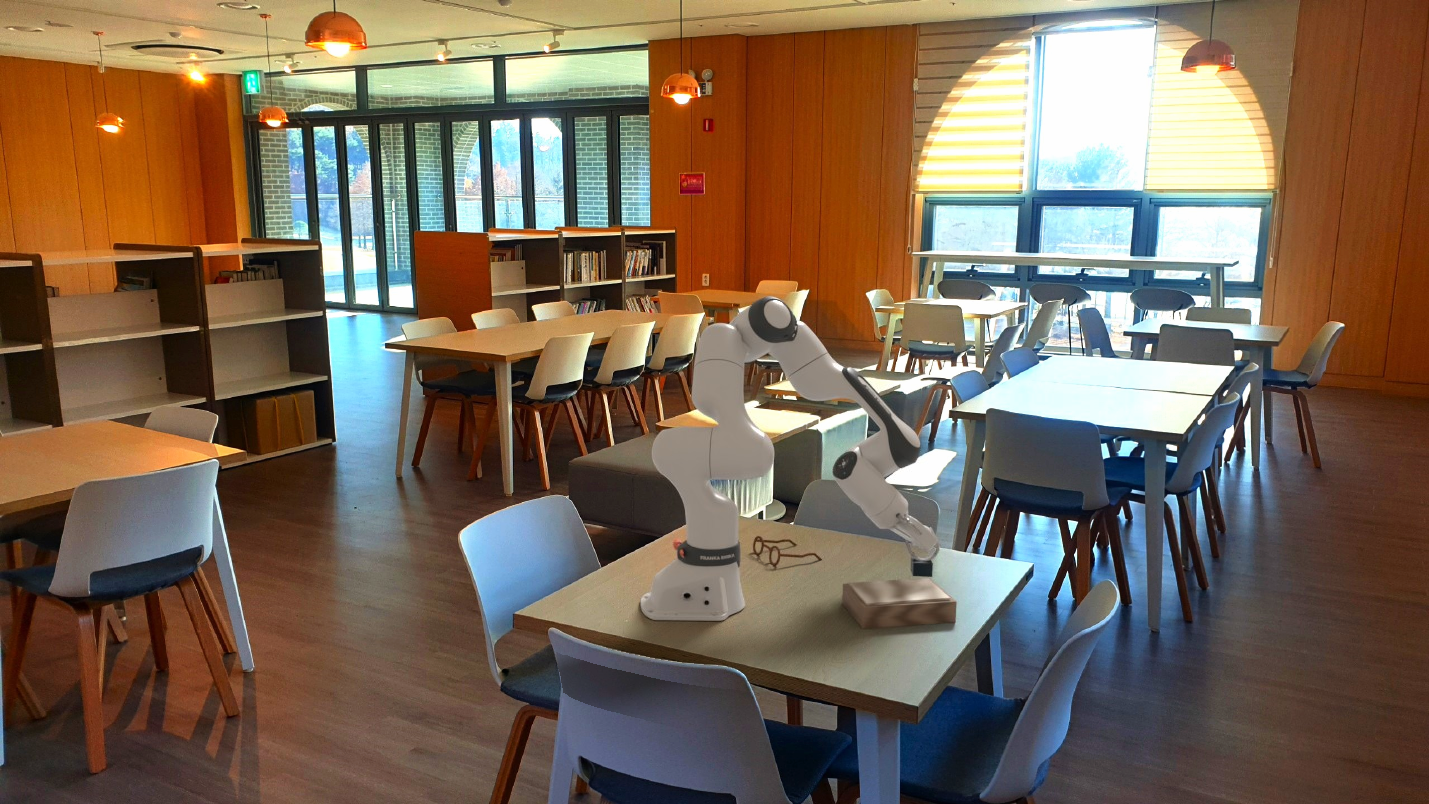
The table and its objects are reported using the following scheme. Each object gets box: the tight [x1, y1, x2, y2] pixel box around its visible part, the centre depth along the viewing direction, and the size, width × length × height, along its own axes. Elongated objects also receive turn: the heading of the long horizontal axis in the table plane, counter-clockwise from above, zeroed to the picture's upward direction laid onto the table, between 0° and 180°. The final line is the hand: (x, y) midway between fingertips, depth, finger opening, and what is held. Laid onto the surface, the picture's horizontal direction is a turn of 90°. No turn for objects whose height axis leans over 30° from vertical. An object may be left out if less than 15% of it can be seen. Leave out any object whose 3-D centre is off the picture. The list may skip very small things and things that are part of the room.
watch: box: [904, 524, 942, 578], centre depth 232 cm, size 6×8×11 cm
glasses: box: [752, 535, 823, 567], centre depth 251 cm, size 13×13×5 cm
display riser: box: [841, 577, 958, 629], centre depth 215 cm, size 20×14×5 cm
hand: (925, 547), depth 232 cm, fingers closed on watch, 4 cm apart
